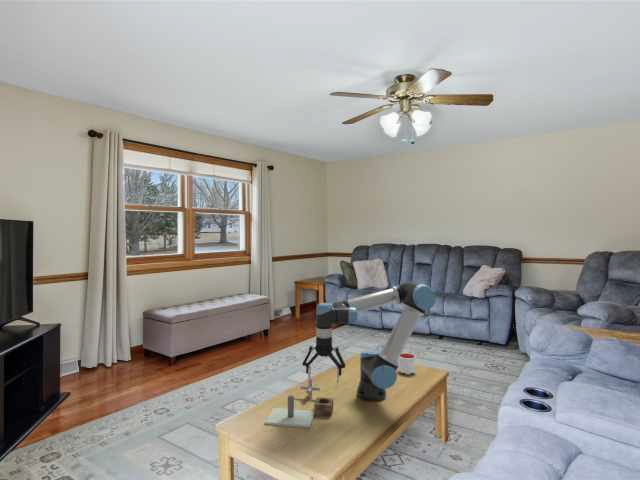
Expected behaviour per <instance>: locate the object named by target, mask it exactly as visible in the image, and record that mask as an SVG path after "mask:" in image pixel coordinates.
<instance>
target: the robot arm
mask: <svg viewBox="0 0 640 480" xmlns="http://www.w3.org/2000/svg"><path fill="white" fill-rule="evenodd" d="M436 299H437V296H436V292H435V290H434V289H433V288H432V287H431V286H429V285H427V284H424V283H421V282H417V281H407V282H403V283H399V284H396V285H393V286H391V288H389V289H384V290H381V291H378V292H374V293H369V294H366V295H360V296H359V297H355V298H350V299H346V300H342V301H338V300H337V301H333V302H332V303H329V302H320V303H318V304H317V305H316V313H315V314H316V320H315V321H316V322H315V323H316V325H315V329H316V331H315V335H316V337H315V339H316V340H315V346H314V345H313V344H311V345H310V346H309V347H308V352H307V354H306V356H305V358H304V360H303V361H302V363H301V365H302V366H305V374H307V379H308V380H307V381H308V382H309V381H310V380H311V378H312V377H311V376H312V375H311V374H312V372H311V371H312V366H311V364H312V363H314V360H316V359H317V358H318V357H322V358H323V357H324V358H326V357H327V358H328V357H329V358H330V360H331V361H332V362H333V363H334V364H335V366H336V384H339V382H340V377H341V376H342V369H345V368H346V363H345V360H344V359H343V356H342V355H341V352H340V347H339V346H336V347H333V337H332V336H333V324H354V323H357V321H358V318H359V316H358V313H362V312H366V311H370V310H373V309H377V308H381V307H384V306H388V305H392V304H396V305H400V304H402V306H403V308H402V311H401V313H400V315H399V316H398V318H397V321H396V322H395V324H394V327H393V328H392V331H391V333H390V335H389V336H388V338H387V340H386V342H385V345H384V346H383V349H382V350H376V349H375V350H374V349H370V350H369V349H367V350H363V351H362V352H360V357H359V359H360V361H359V364H360V369H359V370H360V372H359V373H360V375H359V377H360V380H359V383H358V387H357V388H356V396H357V397H358V399H361V400H364V401H367V402H380V401H383V400H385V399H386V398H387V390H386V389H389V388H391V387H393V386H394V385H395V384H396V382H397V379H398V374H397V370H398V366H399V364H398V359H399V357H400V355H401V354H403V351H404V349H405V348H406V347H405V346H406V345H407V343H408V341H409V338H410V337H411V335H412V333H413V331H414V329H415V328H416V327H415V326H417V323H418V321H419V319H420V317H423V316H425V315H426V313H427V310H430V309H433V307H434V305H435V304H436ZM314 350H315V352H316V353H315V354H314V355H313V356H312V357H311V358H310V359H309V357H310V356H311V353H312V352H314ZM333 351H334V353H335V354H336V356H337V358H336V356H335V355H334V354H333ZM308 359H309V361H308Z"/></svg>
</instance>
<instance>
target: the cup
mask: <svg viewBox="0 0 640 480" xmlns="http://www.w3.org/2000/svg"><path fill="white" fill-rule="evenodd" d="M398 364H399V366H398V368H397V370H398V372H399V373H400V372H401V373H400V374H402V373H405V374H404V375H412V374H411V373H413V374H414V373H415V371H416V355H414V354H412V353H404V352H402V353H401V355H400V357H399V359H398Z"/></svg>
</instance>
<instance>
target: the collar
mask: <svg viewBox="0 0 640 480" xmlns="http://www.w3.org/2000/svg"><path fill="white" fill-rule="evenodd" d="M313 411H314V416H319V417H320V416H321V417H322V416H324V417H332V415H333V412H334V397H321V396H320V397H319V396H317V397H316V399H315V401H314V405H313Z"/></svg>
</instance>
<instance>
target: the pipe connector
mask: <svg viewBox="0 0 640 480" xmlns="http://www.w3.org/2000/svg"><path fill="white" fill-rule="evenodd" d="M300 390H306V392H305V393H306V394H307V395H308V399H313V391H318V392H320V391H321V387H320V386H315V383H314V382H313V377H311V380H310V381H308V385H302V384H301V385H300Z"/></svg>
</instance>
